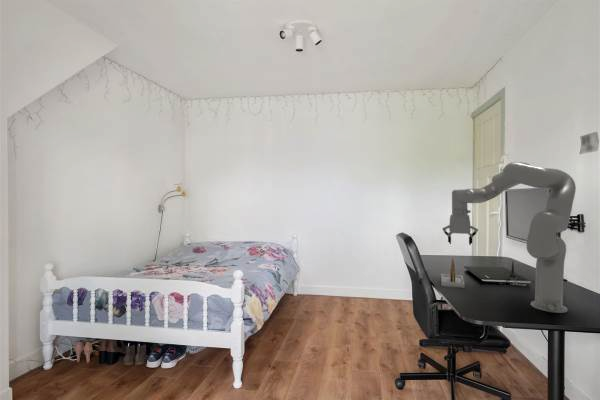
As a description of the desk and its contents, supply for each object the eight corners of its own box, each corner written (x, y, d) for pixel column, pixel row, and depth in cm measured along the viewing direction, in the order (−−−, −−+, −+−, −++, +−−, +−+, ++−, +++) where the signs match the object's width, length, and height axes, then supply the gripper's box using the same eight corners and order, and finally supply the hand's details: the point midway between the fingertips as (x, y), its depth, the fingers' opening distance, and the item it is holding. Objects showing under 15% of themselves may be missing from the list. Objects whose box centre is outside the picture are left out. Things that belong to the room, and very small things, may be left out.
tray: (464, 288, 170) (464, 283, 170) (441, 285, 175) (441, 281, 175) (462, 279, 187) (462, 275, 187) (441, 277, 191) (441, 273, 191)
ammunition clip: (454, 283, 175) (455, 261, 175) (451, 283, 176) (451, 261, 176) (454, 279, 185) (454, 258, 185) (450, 278, 186) (450, 257, 185)
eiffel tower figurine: (498, 284, 180) (498, 260, 179) (495, 279, 189) (495, 256, 189) (530, 287, 174) (531, 262, 174) (525, 282, 183) (526, 259, 183)
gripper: (477, 212, 177) (477, 243, 177) (442, 212, 183) (442, 242, 183) (478, 212, 170) (478, 245, 170) (442, 212, 177) (442, 244, 177)
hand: (460, 244), depth 177 cm, fingers open, 9 cm apart
